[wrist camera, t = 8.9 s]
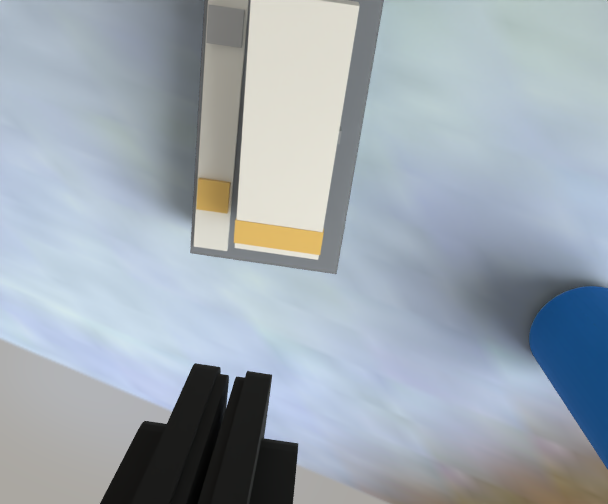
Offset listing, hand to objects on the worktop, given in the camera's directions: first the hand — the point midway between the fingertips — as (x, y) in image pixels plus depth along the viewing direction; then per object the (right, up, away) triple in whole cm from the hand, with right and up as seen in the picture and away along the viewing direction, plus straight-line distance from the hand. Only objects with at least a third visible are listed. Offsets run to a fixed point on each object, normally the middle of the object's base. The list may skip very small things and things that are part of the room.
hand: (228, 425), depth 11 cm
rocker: (+1, +9, +11) cm, 14 cm away
